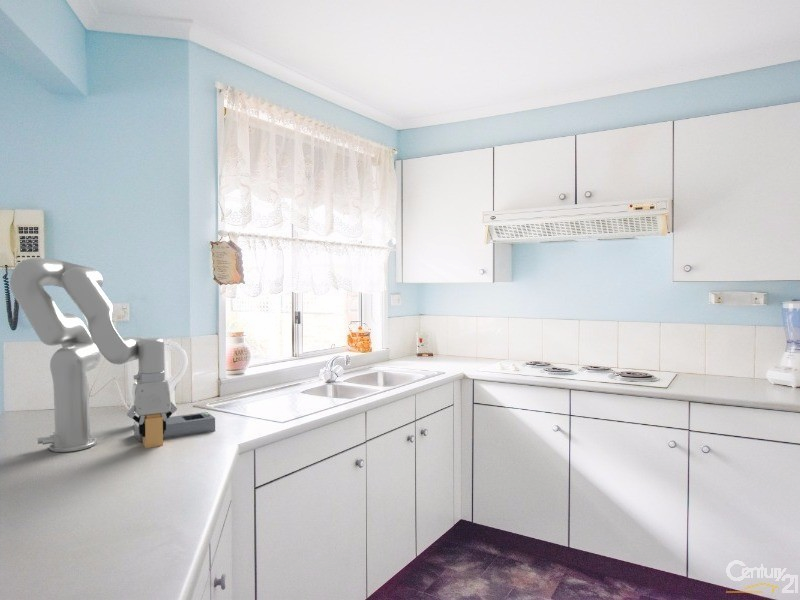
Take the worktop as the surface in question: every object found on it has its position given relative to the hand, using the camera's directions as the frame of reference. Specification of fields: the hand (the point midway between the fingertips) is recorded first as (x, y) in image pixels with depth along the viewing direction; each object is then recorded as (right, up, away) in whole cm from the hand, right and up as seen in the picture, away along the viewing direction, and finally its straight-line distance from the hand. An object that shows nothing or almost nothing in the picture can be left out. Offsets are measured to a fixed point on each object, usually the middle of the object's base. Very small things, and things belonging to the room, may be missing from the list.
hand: (152, 433), depth 177 cm
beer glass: (-14, -3, +23) cm, 27 cm away
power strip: (+2, -3, +13) cm, 14 cm away
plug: (0, -3, 0) cm, 4 cm away
